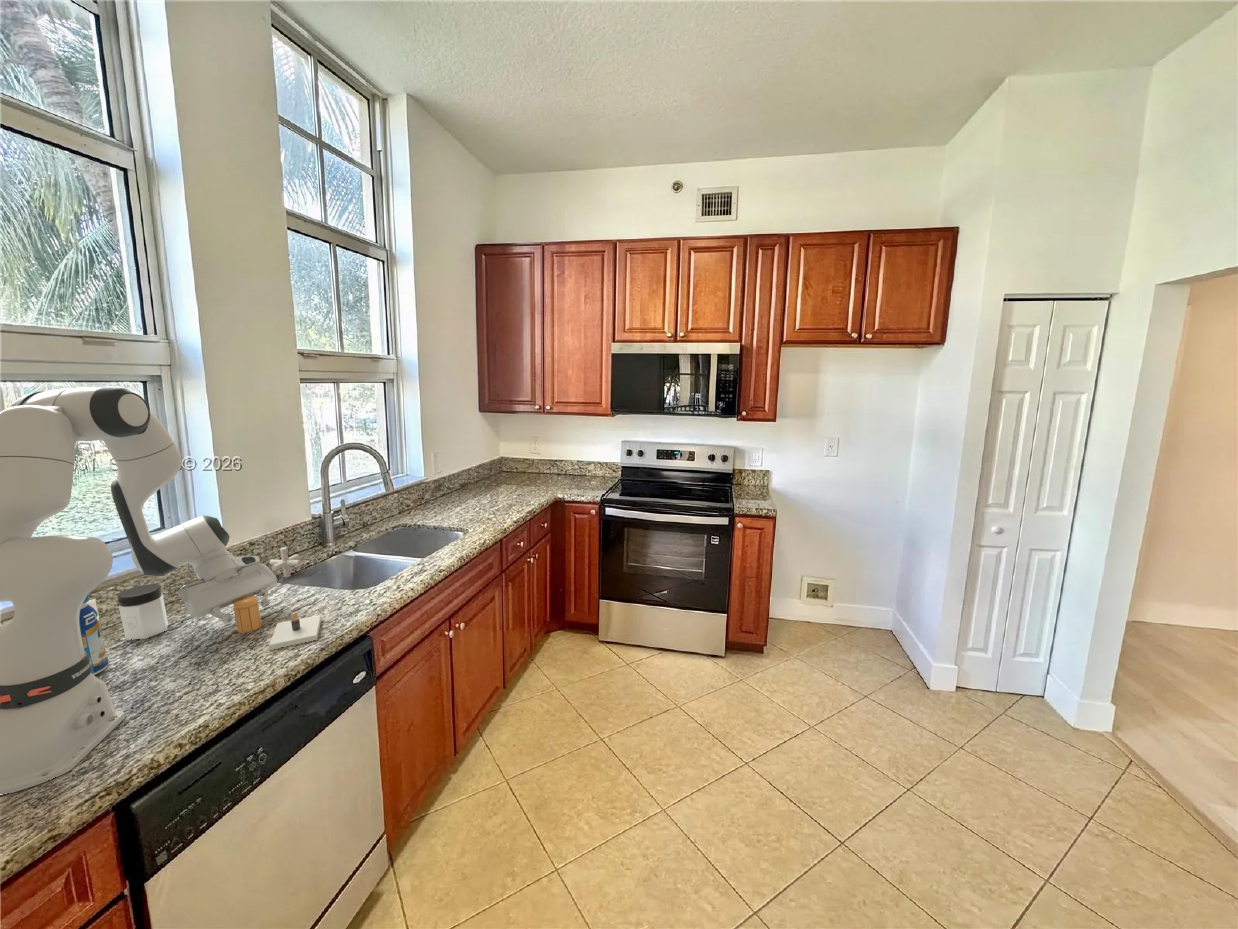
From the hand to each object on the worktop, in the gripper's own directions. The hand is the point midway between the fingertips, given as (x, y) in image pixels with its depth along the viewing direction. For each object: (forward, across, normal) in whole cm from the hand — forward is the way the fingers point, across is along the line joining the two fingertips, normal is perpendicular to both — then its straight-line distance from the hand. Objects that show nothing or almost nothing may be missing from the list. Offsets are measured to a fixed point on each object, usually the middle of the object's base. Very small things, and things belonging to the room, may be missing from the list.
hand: (248, 613), depth 131 cm
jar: (-13, -12, +20) cm, 27 cm away
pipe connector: (-15, +26, +21) cm, 37 cm away
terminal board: (+14, +3, -7) cm, 16 cm away
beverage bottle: (-7, -28, +14) cm, 31 cm away
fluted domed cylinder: (+3, 0, +4) cm, 4 cm away
